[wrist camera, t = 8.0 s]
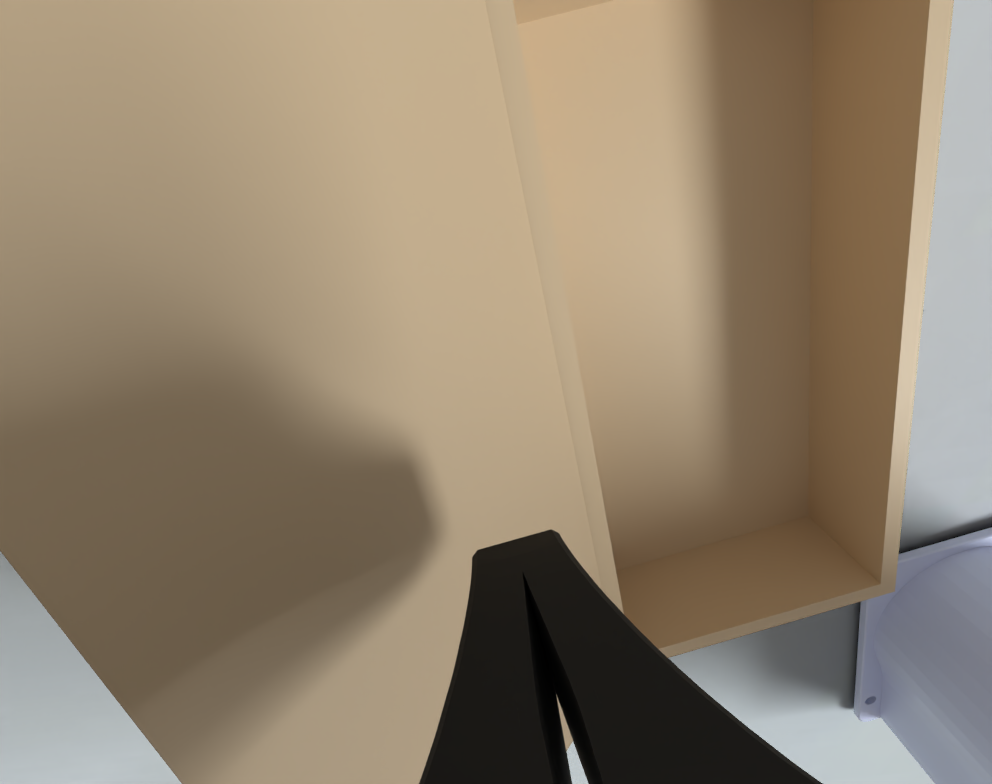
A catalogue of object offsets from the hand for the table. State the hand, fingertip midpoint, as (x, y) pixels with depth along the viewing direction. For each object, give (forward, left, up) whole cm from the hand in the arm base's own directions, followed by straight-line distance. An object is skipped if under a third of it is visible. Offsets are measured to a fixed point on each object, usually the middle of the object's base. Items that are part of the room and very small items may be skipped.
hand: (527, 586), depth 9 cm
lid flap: (0, +2, -2) cm, 2 cm away
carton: (0, -6, -9) cm, 11 cm away
